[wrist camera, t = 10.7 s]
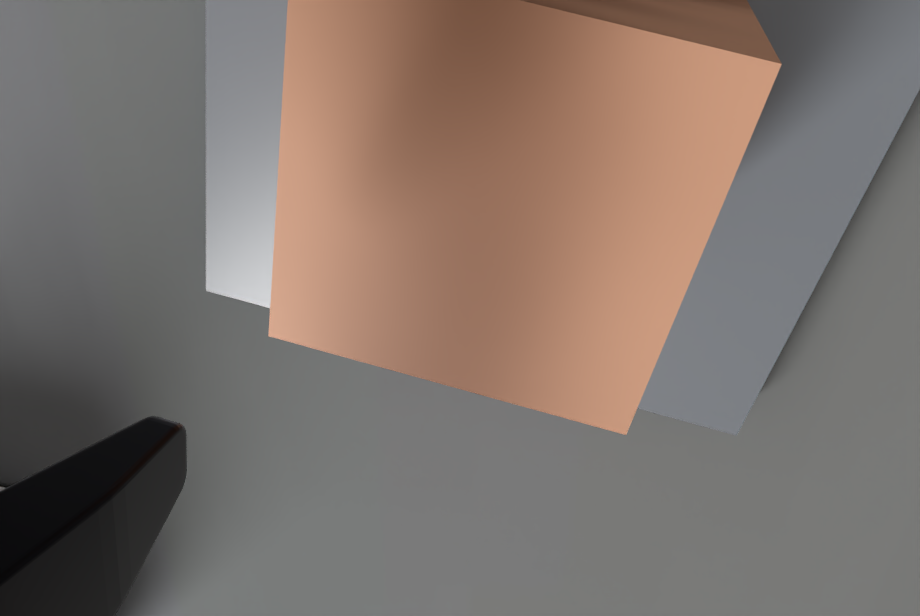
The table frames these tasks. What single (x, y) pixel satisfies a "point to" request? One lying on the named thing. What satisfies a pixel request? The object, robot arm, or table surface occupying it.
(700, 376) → the grey plate
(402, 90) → the terracotta cube
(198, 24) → the table surface
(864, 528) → the table surface
